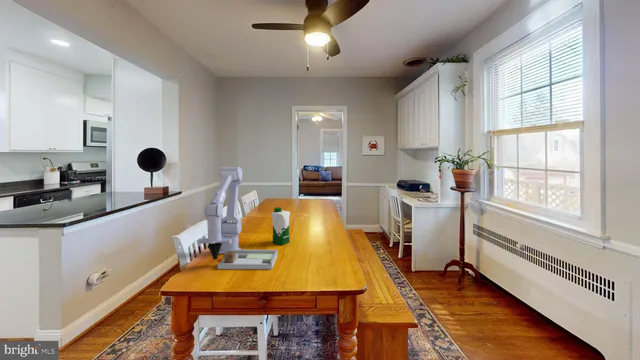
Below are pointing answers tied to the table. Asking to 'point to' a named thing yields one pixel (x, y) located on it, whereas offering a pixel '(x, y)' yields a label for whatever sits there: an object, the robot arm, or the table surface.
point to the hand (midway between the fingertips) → (215, 258)
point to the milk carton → (280, 226)
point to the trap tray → (251, 260)
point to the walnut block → (230, 257)
